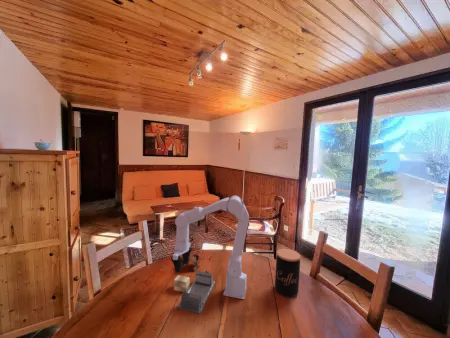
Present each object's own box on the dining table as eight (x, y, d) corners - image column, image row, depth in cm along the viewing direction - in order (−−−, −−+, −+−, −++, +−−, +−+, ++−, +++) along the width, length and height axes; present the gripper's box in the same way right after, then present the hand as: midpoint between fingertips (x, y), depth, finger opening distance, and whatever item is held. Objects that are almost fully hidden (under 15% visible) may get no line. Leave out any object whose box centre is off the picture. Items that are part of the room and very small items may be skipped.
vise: (215, 282, 98) (215, 272, 98) (200, 313, 78) (201, 301, 78) (196, 278, 100) (196, 269, 100) (177, 308, 80) (177, 296, 80)
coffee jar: (272, 293, 92) (274, 255, 91) (277, 281, 101) (279, 246, 100) (296, 301, 87) (298, 262, 86) (299, 288, 96) (301, 252, 95)
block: (189, 287, 93) (189, 277, 93) (186, 292, 90) (186, 282, 89) (177, 285, 95) (178, 275, 95) (173, 290, 91) (174, 279, 91)
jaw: (214, 277, 101) (215, 268, 101) (210, 285, 94) (211, 276, 94) (200, 274, 103) (200, 266, 103) (195, 282, 96) (195, 273, 96)
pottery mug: (192, 276, 103) (185, 262, 103) (181, 277, 108) (174, 264, 108) (205, 260, 113) (198, 248, 113) (195, 262, 118) (188, 250, 118)
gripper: (181, 232, 100) (180, 258, 101) (166, 244, 86) (165, 274, 87) (194, 234, 99) (193, 260, 99) (181, 246, 85) (180, 277, 85)
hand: (181, 267), depth 93 cm, fingers open, 7 cm apart
